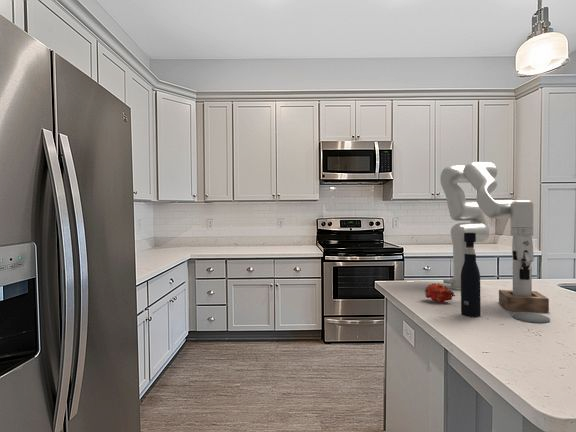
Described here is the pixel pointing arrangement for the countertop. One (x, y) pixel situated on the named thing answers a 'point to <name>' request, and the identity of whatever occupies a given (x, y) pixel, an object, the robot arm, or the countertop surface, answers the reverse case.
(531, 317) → the coaster
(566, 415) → the countertop surface
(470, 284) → the black water bottle
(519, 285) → the travel mug
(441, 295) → the dragon fruit
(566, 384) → the countertop surface
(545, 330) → the countertop surface
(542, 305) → the mug holder
